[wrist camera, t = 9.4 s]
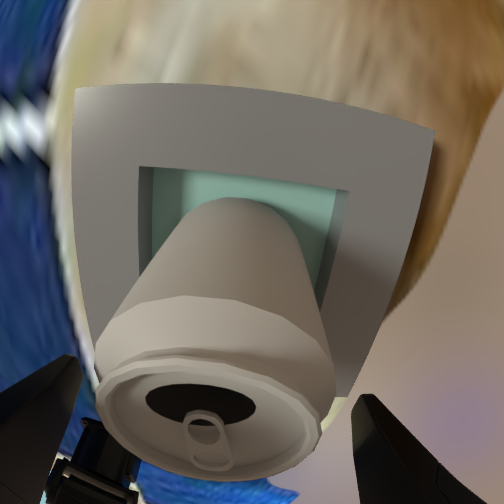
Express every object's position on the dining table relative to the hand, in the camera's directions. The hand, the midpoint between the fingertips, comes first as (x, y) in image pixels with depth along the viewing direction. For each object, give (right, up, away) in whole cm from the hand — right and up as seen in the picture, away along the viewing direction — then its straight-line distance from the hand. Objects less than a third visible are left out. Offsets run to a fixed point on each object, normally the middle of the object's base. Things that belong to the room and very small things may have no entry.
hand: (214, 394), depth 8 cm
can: (0, +4, +10) cm, 10 cm away
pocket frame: (0, +4, +10) cm, 10 cm away
